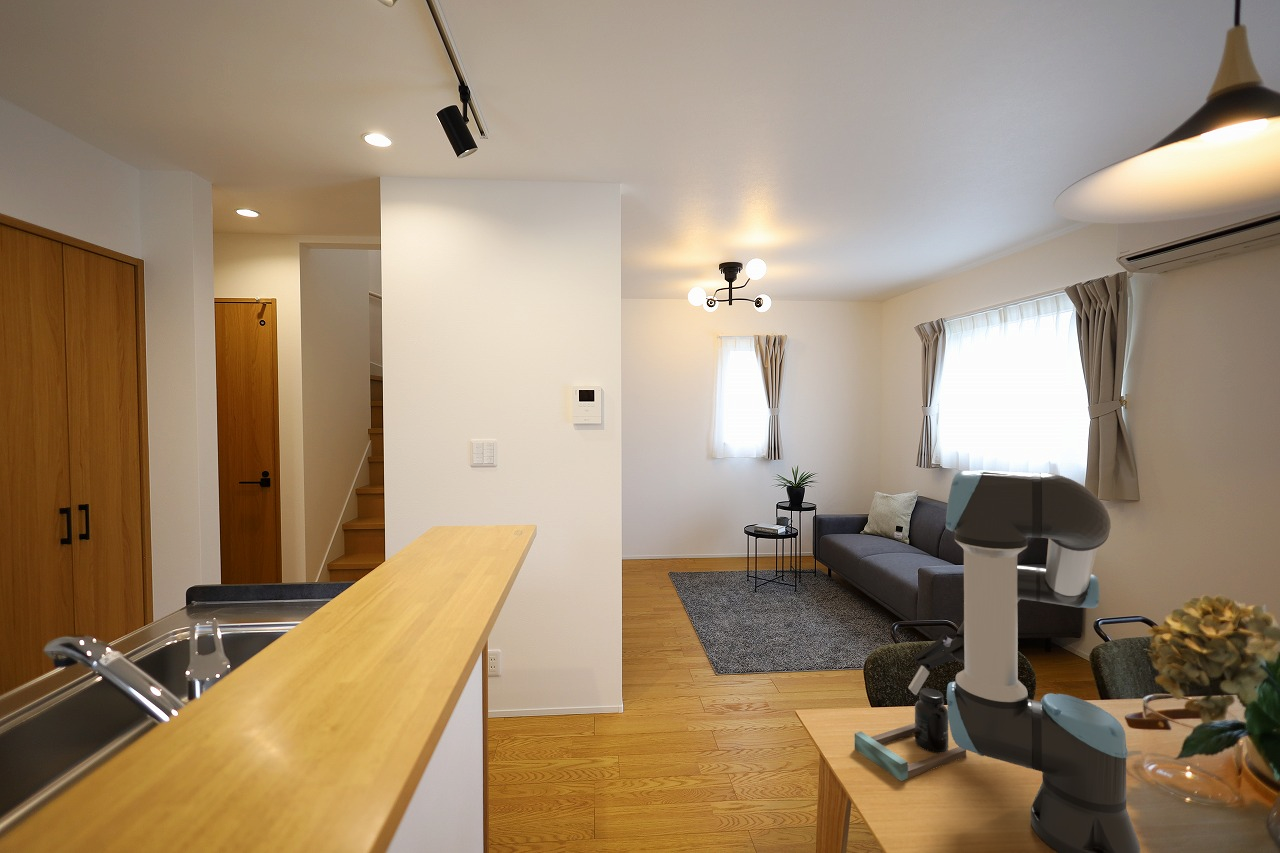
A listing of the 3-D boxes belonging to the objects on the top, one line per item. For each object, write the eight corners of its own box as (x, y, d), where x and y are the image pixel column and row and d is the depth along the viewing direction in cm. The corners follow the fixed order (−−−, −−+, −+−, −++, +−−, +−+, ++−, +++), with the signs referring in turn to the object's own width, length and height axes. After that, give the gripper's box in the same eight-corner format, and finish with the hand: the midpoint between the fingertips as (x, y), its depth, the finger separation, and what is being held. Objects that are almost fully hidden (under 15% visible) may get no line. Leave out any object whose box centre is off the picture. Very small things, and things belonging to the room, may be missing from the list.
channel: (966, 756, 122) (966, 740, 122) (900, 781, 114) (900, 764, 114) (917, 728, 134) (917, 713, 134) (854, 748, 126) (854, 733, 126)
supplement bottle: (953, 755, 123) (952, 701, 123) (919, 752, 124) (919, 698, 124) (942, 738, 129) (942, 687, 129) (911, 735, 131) (911, 684, 131)
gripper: (1041, 658, 124) (997, 741, 118) (941, 621, 147) (900, 689, 141) (1026, 638, 122) (981, 722, 116) (927, 604, 145) (885, 673, 139)
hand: (936, 704), depth 129 cm, fingers open, 13 cm apart
